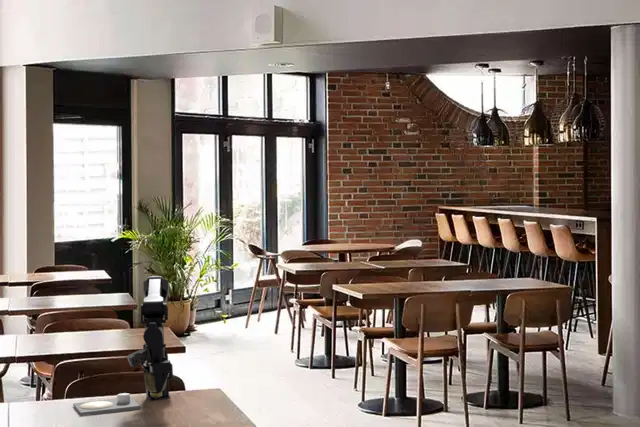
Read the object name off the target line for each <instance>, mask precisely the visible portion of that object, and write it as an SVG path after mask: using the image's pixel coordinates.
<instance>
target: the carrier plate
mask: <svg viewBox="0 0 640 427" xmlns="http://www.w3.org/2000/svg"><path fill="white" fill-rule="evenodd" d="M72 405H73V406H74V407H75V408H74V407H73V406H72V407H73V408H74V409H75V410H77V411H78V412H77V411H76V412H77V413H78V414H79V416H80V415H81V416H80V417H84V416H90V415H91V416H92V415H98V414H99V415H100V413H101V414H109V413H108V412H110V413H116V412H125V411H127V412H128V411H132V410H133V411H134V410H135V411H136V410H140V409H141V406H140V404H139V403H137V402H136V401H135V400H134V399H133V398H132V397H131V393H127V392H123V393H118V394H117V395H116V398H110V399H109V398H107V399H101V400H92V401H91V400H90V401H83V402H82V401H81V402H73V403H72Z"/></svg>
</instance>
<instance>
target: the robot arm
mask: <svg viewBox="0 0 640 427" xmlns="http://www.w3.org/2000/svg"><path fill="white" fill-rule="evenodd" d="M142 283H143V287H142V288H143V290H142V292H143V296H144V298H143V300H142V303H141V304H140V325H145V326H144V331H143V336H142V337H143V341H144V343H143V344H142V348H141V349H139V350H136V351H135V352H132V353H130V354H128V355H127V356H126V358H127V361H128V363H129V366H130V367H131V368H136V367H138V365H140V366H141V368H142V369H143V372H144V371H145V372H147V370H148V372H149V373H151V374H152V375H153V376H154V380H155V385H156V390H157V393H161V392H162V396H161V397H151V395H150V393H151V392H150V391H148V390H147V388H146V387H145V394H146V397H147V398H148V399H149V400H151V401H154V400H155V401H156V400H162V399H171V395H170V384H169V382H170V381H169V380H171V379H173V378H174V372H173V371H174V369H173V368H174V367H173V364H172V363H171V360H170V359H169V355H168V353H167V352H168V351H167V350H166V349H165V348H166V347H167V344H166V343H165V333H164V330H165V329H164V324H167V321H168V320H169V306H168V305H167V303H168V296H170V282H169V280H167V279H165V278H164V277H163V276H161V275H152V276H151V275H150V276H148V277H147V279H146V280H144V281H143V282H142ZM166 379H167V384H166V388H165V389H164V390H163V391H162V388H163V386H164V383H165V381H166Z"/></svg>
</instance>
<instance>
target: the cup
mask: <svg viewBox="0 0 640 427" xmlns="http://www.w3.org/2000/svg"><path fill="white" fill-rule="evenodd" d="M143 377H144V378H143V380H144V384H145V385H144V386H145V389H146V388H147V390H148V391H150V392H151V393H150V395H151V397H161V396H162V392H161V393H157V390H156V385H155V380H154V376H153V375H152V374H151V373H149V372H148V370H147V372H145V371H144V370H143ZM166 384H167V379H166V381H165V383H164V386H163V388H162V391H163V390H164V389H165V388H166Z"/></svg>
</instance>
